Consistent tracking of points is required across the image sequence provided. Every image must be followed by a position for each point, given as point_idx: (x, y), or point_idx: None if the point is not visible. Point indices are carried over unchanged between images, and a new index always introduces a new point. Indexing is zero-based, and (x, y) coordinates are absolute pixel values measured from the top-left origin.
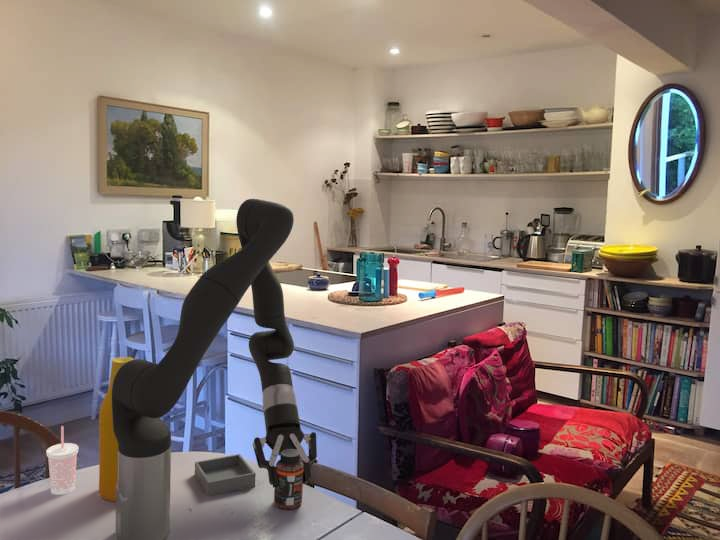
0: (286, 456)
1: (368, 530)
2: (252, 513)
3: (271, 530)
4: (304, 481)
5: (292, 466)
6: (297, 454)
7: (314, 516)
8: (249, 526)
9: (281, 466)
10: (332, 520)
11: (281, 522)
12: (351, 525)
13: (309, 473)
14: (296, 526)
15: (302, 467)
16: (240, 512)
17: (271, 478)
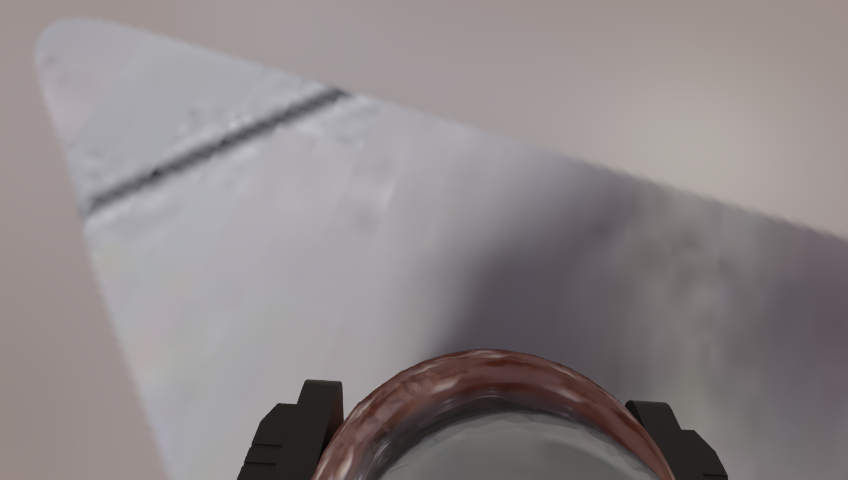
0: (642, 462)
1: (131, 52)
2: (728, 424)
3: (634, 203)
4: (341, 418)
5: (505, 390)
6: (411, 476)
7: (348, 263)
8: (757, 281)
9: (652, 465)
10: (265, 191)
11: (560, 263)
12: (189, 116)
13: (264, 444)
14: (485, 197)
15: (349, 418)
16: (809, 465)
17: (710, 465)
